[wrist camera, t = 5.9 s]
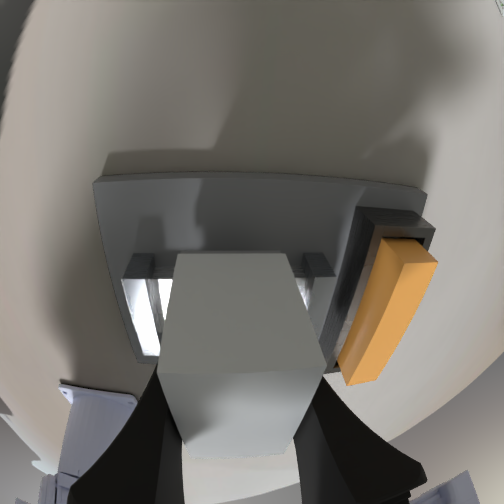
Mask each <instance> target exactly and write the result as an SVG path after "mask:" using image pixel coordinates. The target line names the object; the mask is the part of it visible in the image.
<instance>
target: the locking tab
mask: <svg viewBox="0 0 504 504" xmlns="http://www.w3.org/2000/svg"><path fill="white" fill-rule="evenodd" d="M437 264H438V261H437V260H436V259H435V258H434V257H433V256H432V255H431V254H430V253H429V252H428V251H427V250H426V249H425V248H423V247H422V246H421V245H420V244H419V243H418V242H417V241H416V240H415V239H392V238H382V239H381V242H380V246H379V249H378V252H377V256H376V259H375V262H374V265H373V268H372V271H371V274H370V277H369V280H368V283H367V286H366V289H365V291H364V294H363V297H362V300H361V302H360V305H359V308H358V310H357V313H356V315H355V318H354V321H353V323H352V326H351V328H350V331H349V333H348V335H347V338H346V340H345V343H344V345H343V347H342V350H341V352H340V354H339V356H338V359H337V362H338V364H339V367H340V369H341V372H342V375H343V377H344V380H345V383H346V386H349V385H355V384H360V383H364V382H369V381H374V380H376V379H377V378H378V376H379V375H380V373H381V371H382V370H383V368H384V367H385V365H386V364H387V362H388V360H389V359H390V357H391V355H392V354H393V352H394V350H395V349H396V347H397V345H398V344H399V342H400V340H401V338H402V336H403V335H404V333H405V331H406V329H407V327H408V326H409V324H410V322H411V320H412V318H413V316H414V314H415V312H416V310H417V308H418V306H419V304H420V302H421V300H422V298H423V296H424V294H425V292H426V289H427V287H428V285H429V283H430V281H431V278H432V276H433V274H434V271H435V269H436V267H437Z"/></svg>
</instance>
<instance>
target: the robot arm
mask: <svg viewBox="0 0 504 504" xmlns="http://www.w3.org/2000/svg"><path fill="white" fill-rule="evenodd" d="M157 367H158V363H157V365H156V367H155V370H154V372H153V374H152V376H151V378H150V380H149V383H148V385H147V387H146V389H145V391H144V393H143V395H142V396H141V398H140V400H139V402H137V400H136V398H135V397H134V396H133V395H130V394H121V393H113V392H105V391H98V390H92V389H86V388H80V387H74V386H69V385H64V384H59V387H58V388H59V390H60V391H61V392H62V393H63V395H64V396H65V397H66V399H67V400H68V401H69V402H70V403H71V405H72V406H71V410H70V414H69V418H68V422H67V426H66V431H65V435H64V440H63V445H62V450H61V455H60V461H59V467H58V473H57V474H55V475H54V476H53V475H51V474H48V475H47V476H44V477H43V478H42V481H41V486H40V492H39V500H38V504H185V502H184V492H183V477H182V438H181V435H180V433H179V430H178V428H177V426H176V423H175V421H174V418H173V416H172V413H171V411H170V408H169V405H168V403H167V400H166V397H165V395H164V392H163V389H162V386H161V383H160V381H159V378H158V375H157ZM293 439H294V444H295V448H296V455H297V462H298V469H299V477H300V484H301V495H302V504H480V502H479V499H478V497H477V494H476V491H475V488H474V485H473V483H472V480H471V477H470V475H469V472H468V470H466V471H464V472H462V473H460V474H459V475H457V476H455V477H454V478H452V479H450V480H448V481H447V482H444V483H442V484H440V485H438V486H436V487H434V488H432V489H430V490H429V491H427V492H425V493H423V494H421V495H420V496H419V497H417V498H415V499H413V500H411V501H409V500H408V498H409V497H411V494H410V490H412V489H414V488H416V487H418V486H420V485H422V484H424V483H426V482H427V477H426V475H425V472H424V469H423V467H422V465H421V463H419V462H417V461H416V460H414V459H412V458H410V457H409V456H407V455H405V454H403V453H402V452H400V451H399V450H397V449H396V448H394V447H393V446H391V445H390V444H389V443H387V442H386V441H385V440H383V439H382V438H381V437H380V436H378V435H377V434H376V433H375V432H373V431H372V430H371V429H370V428H369V427H368V426H366V425H365V424H364V423H363V422H362V421H361V420H360V419H359V418H358V417H357V416H356V415H355V414H354V413H353V412H352V411H351V410H350V409H349V408H348V407H347V405H346V404H345V403H344V402H343V401H342V400H341V399H340V397H339V396H338V395H337V394H336V393H335V391H334V390H333V389H332V387H331V386H330V385H329V384H328V382H327V381H326V380H325V378H324V377H323V376H322V379H321V381H320V383H319V385H318V387H317V390H316V392H315V394H314V396H313V398H312V400H311V403H310V405H309V407H308V409H307V411H306V413H305V415H304V417H303V419H302V421H301V423H300V425H299V427H298V429H297V431H296V433H295V434H294V436H293ZM15 504H30V503H28V502H26V501H23V500H21V499H18V498H16V502H15Z"/></svg>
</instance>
